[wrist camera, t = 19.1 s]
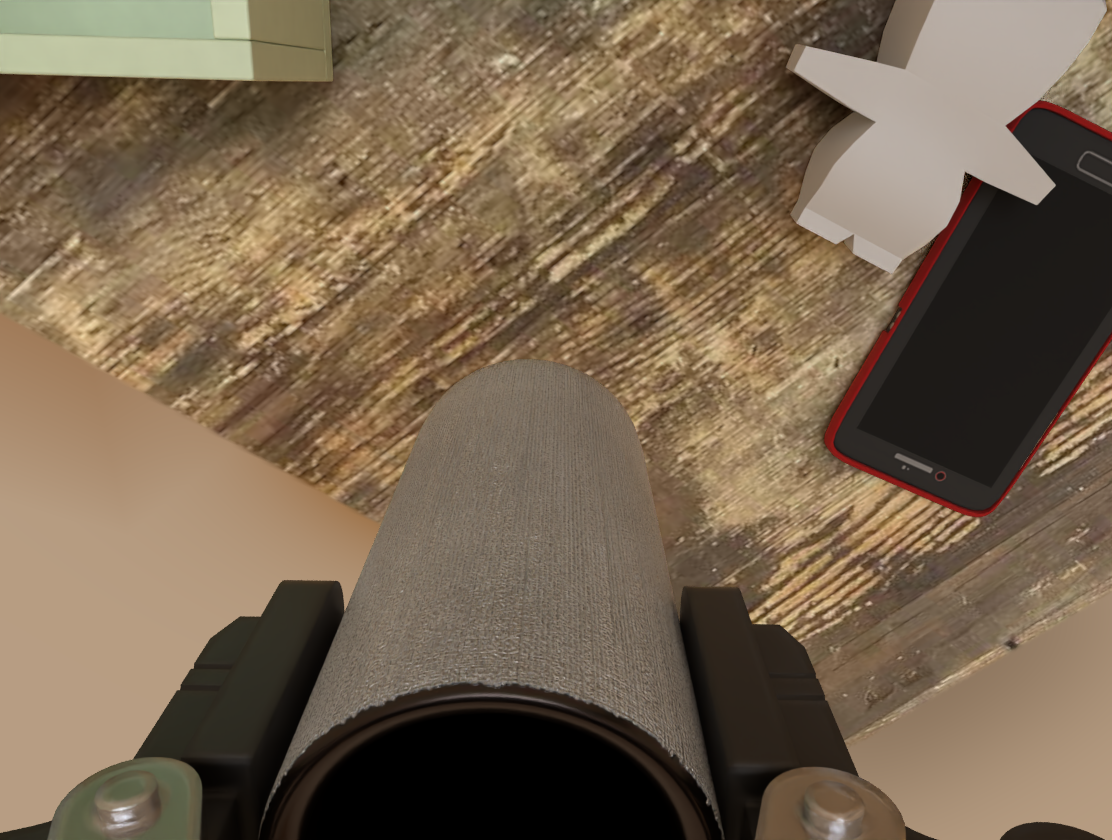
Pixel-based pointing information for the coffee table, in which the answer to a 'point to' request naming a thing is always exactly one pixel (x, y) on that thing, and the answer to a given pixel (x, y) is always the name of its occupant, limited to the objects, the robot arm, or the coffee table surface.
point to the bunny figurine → (933, 117)
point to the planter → (507, 641)
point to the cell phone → (991, 329)
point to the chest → (168, 39)
